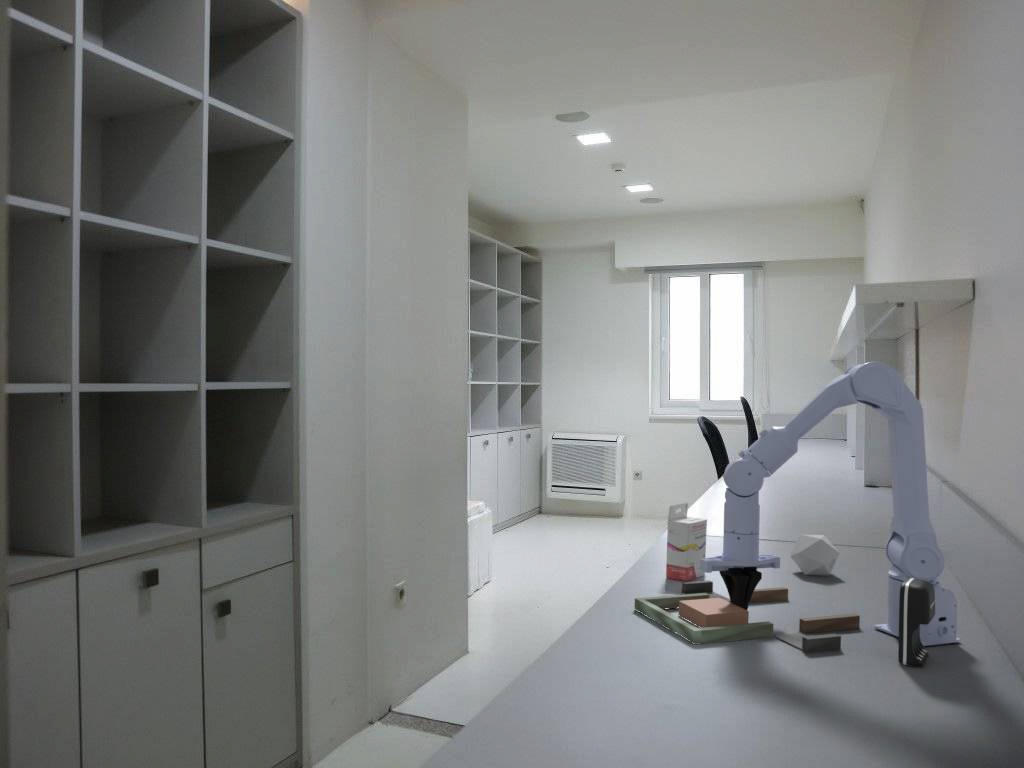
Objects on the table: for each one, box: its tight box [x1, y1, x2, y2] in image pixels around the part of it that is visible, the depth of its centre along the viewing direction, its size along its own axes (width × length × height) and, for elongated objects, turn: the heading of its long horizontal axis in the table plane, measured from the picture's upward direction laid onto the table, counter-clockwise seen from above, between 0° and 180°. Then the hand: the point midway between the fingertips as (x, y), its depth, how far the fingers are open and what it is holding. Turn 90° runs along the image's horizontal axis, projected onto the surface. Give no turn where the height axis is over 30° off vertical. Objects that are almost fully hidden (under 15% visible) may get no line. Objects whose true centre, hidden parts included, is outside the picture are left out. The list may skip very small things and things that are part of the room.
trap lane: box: [634, 580, 861, 654], centre depth 127 cm, size 34×31×2 cm
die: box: [790, 533, 840, 577], centre depth 161 cm, size 8×9×10 cm
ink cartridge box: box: [665, 502, 708, 582], centre depth 155 cm, size 9×5×15 cm, turn 141°
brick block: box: [678, 598, 750, 628], centre depth 125 cm, size 8×8×3 cm
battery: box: [897, 578, 935, 668], centre depth 108 cm, size 7×4×11 cm, turn 143°
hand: (739, 612), depth 126 cm, fingers closed
